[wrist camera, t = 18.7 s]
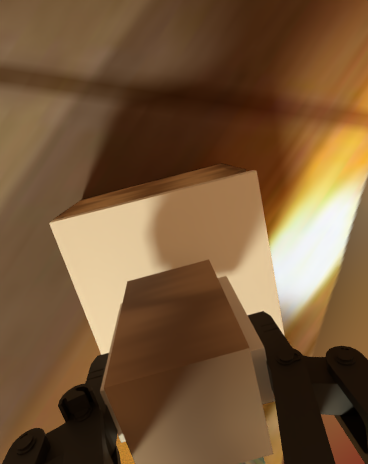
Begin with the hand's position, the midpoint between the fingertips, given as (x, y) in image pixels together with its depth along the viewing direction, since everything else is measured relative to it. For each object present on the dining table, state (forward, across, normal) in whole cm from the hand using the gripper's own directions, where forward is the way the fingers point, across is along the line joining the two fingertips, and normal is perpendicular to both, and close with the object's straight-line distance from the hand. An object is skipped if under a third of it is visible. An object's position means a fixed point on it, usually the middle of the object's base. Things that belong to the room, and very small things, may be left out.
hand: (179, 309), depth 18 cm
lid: (+4, 0, 0) cm, 4 cm away
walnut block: (0, 0, 0) cm, 0 cm away
